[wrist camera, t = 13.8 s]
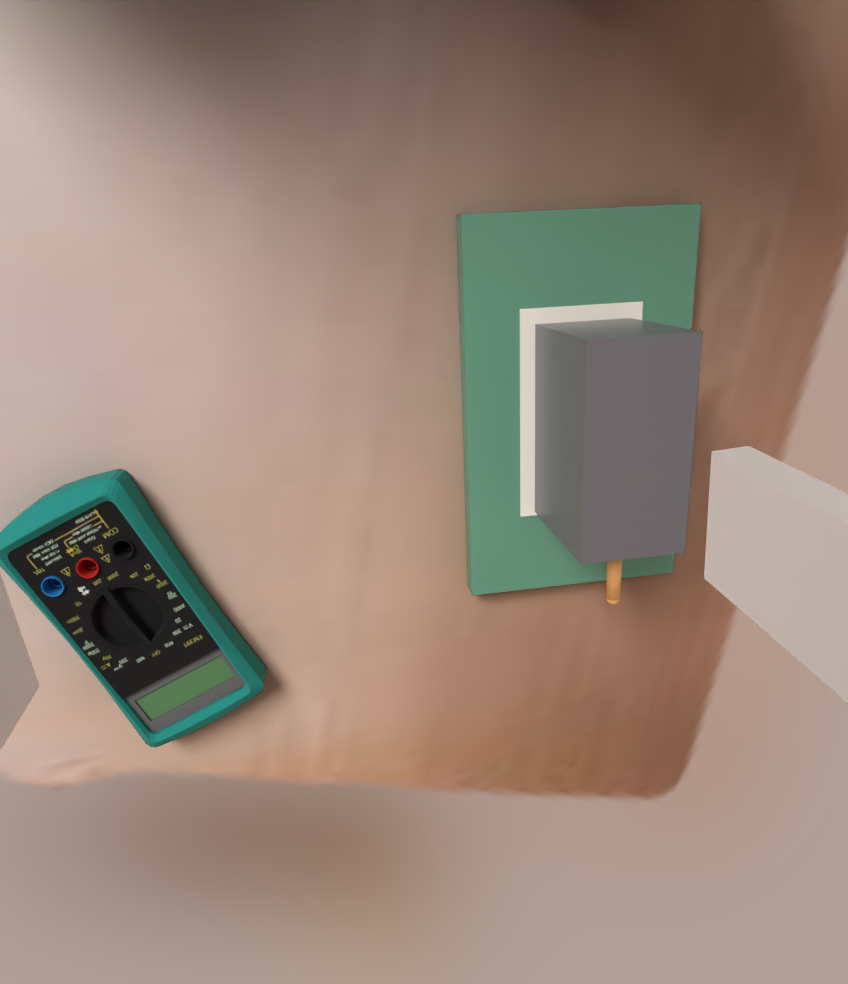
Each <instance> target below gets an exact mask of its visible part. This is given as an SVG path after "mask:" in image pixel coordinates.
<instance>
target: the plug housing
mask: <svg viewBox="0 0 848 984" xmlns="http://www.w3.org/2000/svg"><path fill="white" fill-rule="evenodd" d="M702 334H703V332H702V331H697V330H691V329H686V328H681V327H676V326H670V325H665V324H660V323H654V322H649V321H644V320H638V319H633V318H623V319H608V320H593V321H577V322H562V323H547V324H535V512H536V514H537V515H538V516H539V517H540V518H541V519H542V520H543V522H544V523H545V524H546V525H547V526H548V527H549V529H550V530H551V531H552V532H553V533H554V534H555V535H556V537H557V538H558V539H559V540H560V541H561V542H562V543H563V545H564V546H565V547H566V548H567V549H568V550H569V551H570V553H571V554H572V555H573V556H574V557H575V558H576V560H577V561H578V562H579V563H580V564H590V563H599V562H607V580H606V600H607V602H608V603H610V604H617V603H618V602H619V601H620V596H621V575H622V560H625V559H634V558H643V557H652V556H661V555H670V554H679V553H685V546H686V533H687V521H688V509H689V496H690V484H691V471H692V459H693V446H694V434H695V421H696V409H697V397H698V384H699V372H700V359H701V347H702Z"/></svg>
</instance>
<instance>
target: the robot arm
mask: <svg viewBox="0 0 848 984" xmlns="http://www.w3.org/2000/svg"><path fill="white" fill-rule="evenodd" d="M704 579H705V580H707V581H708V582H709V583H710V584H711V585H712V586H714V587H715V588H716V589H717V590H718V591H719V592H720V593H722V594H723V595H724V596H725V597H726V598H727V599H728V600H730V601H731V602H732V603H733V604H734V605H735V606H736V607H738V608H739V609H740V610H741V611H742V612H743V613H745V614H746V615H747V616H748V617H749V618H750V619H751V620H753V621H754V622H755V623H756V624H757V625H758V626H760V627H761V628H762V629H763V630H764V631H765V632H766V633H768V634H769V635H770V636H771V637H772V638H773V639H775V640H776V641H777V642H778V643H779V644H780V645H781V646H783V647H784V648H785V649H786V650H787V651H788V652H789V653H790V654H792V655H793V656H794V657H795V658H796V659H797V660H799V661H800V662H801V663H802V664H803V665H804V666H805V667H807V668H808V669H809V670H810V671H811V672H812V673H814V674H815V675H816V676H817V677H818V678H819V679H820V680H822V681H823V682H824V683H825V684H826V685H827V686H828V687H830V688H831V689H832V690H833V691H834V692H835V693H837V694H838V695H839V696H840V697H841V698H842V699H843V700H845V701H846V702H847V703H848V493H846V492H844V491H842V490H840V489H837V488H835V487H833V486H831V485H829V484H827V483H825V482H822V481H821V480H819V479H816V478H815V477H812V476H810V475H808V474H806V473H804V472H802V471H800V470H798V469H796V468H794V467H792V466H789V465H787V464H785V463H783V462H781V461H779V460H777V459H775V458H773V457H771V456H769V455H767V454H764V453H762V452H760V451H758V450H756V449H754V448H752V447H750V446H745V447H738V448H731V449H724V450H717V451H712V453H711V469H710V486H709V503H708V520H707V537H706V554H705V570H704ZM38 687H39V683H38V680H37V678H36V675H35V672H34V669H33V666H32V663H31V660H30V658H29V655H28V652H27V649H26V646H25V643H24V640H23V637H22V635H21V632H20V629H19V626H18V623H17V620H16V617H15V614H14V612H13V609H12V606H11V603H10V600H9V597H8V594H7V592H6V589H5V586H4V583H3V580H2V577H1V574H0V750H1V749H2V747H3V745H4V744H5V742H6V740H7V739H8V737H9V735H10V734H11V732H12V730H13V729H14V727H15V725H16V724H17V722H18V721H19V719H20V717H21V716H22V714H23V712H24V711H25V709H26V707H27V706H28V704H29V702H30V701H31V699H32V697H33V696H34V694H35V692H36V691H37V689H38Z"/></svg>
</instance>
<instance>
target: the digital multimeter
mask: <svg viewBox="0 0 848 984" xmlns="http://www.w3.org/2000/svg"><path fill="white" fill-rule="evenodd" d="M116 506H117V507H116ZM119 510H120V511H119ZM122 514H123V515H122ZM124 517H125V518H126V519H125V518H124ZM127 521H128V522H127ZM130 525H131V526H130ZM132 528H133V529H132ZM140 539H141V540H142V541H141V540H140ZM143 543H144V544H145V545H144V544H143ZM146 547H147V548H146ZM148 550H149V551H150V552H149V551H148ZM151 554H152V555H151ZM154 558H155V559H154ZM156 561H157V562H158V563H157V562H156ZM159 565H160V566H159ZM0 566H1V567H2V569H3V570H4V571H5V572H6V573H7V574H8V575H9V576H10V577H11V578H12V579H13V580H14V582H15V583H16V584H17V585H18V586H19V587H20V588H21V589H22V590H23V591H24V592H25V593H26V595H27V596H28V597H29V598H30V599H31V600H32V601H33V602H34V604H35V605H36V606H37V607H38V608H39V609H40V610H41V612H42V613H43V614H44V615H45V616H46V617H47V618H48V620H49V621H50V622H51V623H52V624H53V625H54V626H55V628H56V629H57V630H58V631H59V632H60V633H61V634H62V635H63V637H64V638H65V639H66V640H67V641H68V642H69V644H70V645H71V646H72V647H73V649H74V650H75V651H76V652H77V654H78V655H79V656H80V657H81V659H82V660H83V661H84V662H85V664H86V665H87V666H88V667H89V669H90V670H91V671H92V672H93V674H94V675H95V676H96V677H97V679H98V680H99V681H100V682H101V684H102V685H103V686H104V687H105V689H106V690H107V691H108V693H109V694H110V695H111V697H112V698H113V699H114V701H115V702H116V704H117V705H118V706H119V708H120V709H121V710H122V712H123V713H124V714H125V716H126V717H127V718H128V720H129V721H130V723H131V724H132V725H133V727H134V728H135V729H136V731H137V732H138V733H139V735H140V736H141V738H142V739H143V740H144V742H145V743H146V744H147V745H149V746H150V747H158V746H161V745H163V744H166V743H168V742H170V741H173V740H175V739H178V738H180V737H182V736H184V735H187V734H189V733H191V732H193V731H195V730H197V729H200V728H202V727H204V726H206V725H207V724H209V723H211V722H213V721H215V720H217V719H219V718H221V717H222V716H224V715H226V714H227V713H229V712H231V711H232V710H234V709H235V708H237V707H239V706H240V705H242V704H243V703H245V702H247V701H248V700H250V699H251V698H253V697H254V696H256V695H257V694H259V693H260V692H261V691H262V690H263V687H264V680H265V671H266V669H265V666H264V664H263V663H262V662H261V661H260V659H259V658H258V657H257V656H256V654H255V653H254V652H253V651H252V649H251V648H250V647H249V645H248V644H247V643H246V642H245V640H244V639H243V638H242V637H241V635H240V634H239V633H238V632H237V630H236V629H235V628H234V627H233V625H232V624H231V623H230V621H229V620H228V619H227V618H226V616H225V615H224V614H223V612H222V611H221V610H220V608H219V607H218V606H217V604H216V603H215V601H214V600H213V599H212V597H211V596H210V595H209V593H208V592H207V591H206V589H205V588H204V586H203V585H202V584H201V582H200V581H199V580H198V578H197V577H196V575H195V574H194V573H193V571H192V570H191V569H190V567H189V566H188V564H187V563H186V561H185V560H184V558H183V557H182V555H181V554H180V552H179V551H178V549H177V548H176V546H175V545H174V543H173V542H172V540H171V539H170V537H169V536H168V534H167V533H166V531H165V530H164V528H163V527H162V525H161V524H160V522H159V521H158V519H157V518H156V516H155V514H154V513H153V511H152V510H151V508H150V506H149V505H148V503H147V502H146V500H145V498H144V497H143V495H142V494H141V492H140V491H139V489H138V487H137V486H136V484H135V483H134V481H133V479H132V478H131V476H130V475H129V473H127V472H126V471H125V470H122V469H117V470H113V471H109V472H105V473H101V474H97V475H93V476H89V477H86V478H83V479H81V480H78V481H75V482H72V483H69V484H66V485H64V486H62V487H60V488H58V489H56V490H54V491H52V492H51V493H49V494H47V495H45V496H43V497H42V498H40V499H39V500H38V501H37V502H35V503H34V504H33V505H31V506H30V507H29V508H27V509H26V510H25V511H24V512H22V513H21V514H20V515H19V516H18V517H17V518H15V519H14V520H13V521H12V522H11V523H10V524H8V525H7V526H6V527H5V528H4V529H3V530H2V531H1V532H0ZM162 569H163V570H162ZM164 572H165V573H166V574H165V573H164ZM167 576H168V577H167ZM170 580H171V581H170ZM172 583H173V584H174V585H173V584H172ZM175 587H176V588H175ZM178 591H179V592H178ZM180 594H181V595H182V596H181V595H180ZM183 598H184V599H183ZM93 599H94V600H93ZM186 602H187V603H186ZM90 604H91V605H90ZM188 605H189V606H190V607H189V606H188ZM191 609H192V610H191ZM88 610H89V611H88ZM166 612H167V613H166ZM194 613H195V614H194ZM196 616H197V617H198V618H197V617H196ZM199 620H200V621H199ZM202 624H203V625H202ZM204 627H205V628H206V629H205V628H204ZM207 631H208V632H207ZM210 635H211V636H210ZM212 638H213V639H214V640H213V639H212ZM99 640H100V641H99ZM215 642H216V643H215ZM154 643H155V644H154ZM106 645H107V646H106ZM151 645H152V646H151ZM108 646H109V647H108ZM142 649H143V650H142ZM120 650H121V651H120ZM138 650H139V651H138ZM128 651H129V652H128Z"/></svg>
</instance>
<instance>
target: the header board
mask: <svg viewBox="0 0 848 984" xmlns="http://www.w3.org/2000/svg"><path fill="white" fill-rule="evenodd" d="M700 212H701V203H699V204H676V205H653V206H631V207H608V208H586V209H563V210H541V211H518V212H495V213H473V214H460V215H457V245H458V277H459V310H460V343H461V375H462V408H463V440H464V473H465V506H466V538H467V571H468V587H469V589H470V592H471V594H472V596H473V595H481V594H490V593H499V592H507V591H516V590H525V589H534V588H542V587H551V586H560V585H569V584H577V583H586V582H595V581H604V580H607V562H599V563H590V564H580V563H579V562H578V561H577V560H576V558H575V557H574V556H573V555H572V554H571V553H570V551H569V550H568V549H567V548H566V547H565V546H564V545H563V543H562V542H561V541H560V540H559V539H558V538H557V537H556V535H555V534H554V533H553V532H552V531H551V530H550V529H549V527H548V526H547V525H546V524H545V523H544V522H543V520H542V519H541V518H540V517H539V516H538V515H537V514H536V512H535V324H547V323H562V322H577V321H593V320H608V319H623V318H633V319H638V320H644V321H649V322H654V323H660V324H665V325H670V326H676V327H681V328H686V329H691V330H692V318H693V305H694V292H695V279H696V265H697V252H698V239H699V226H700ZM674 556H675V554H670V555H661V556H652V557H643V558H634V559H625V560H622V575H621V578H630V577H639V576H647V575H656V574H665V573H673V569H674Z"/></svg>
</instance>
